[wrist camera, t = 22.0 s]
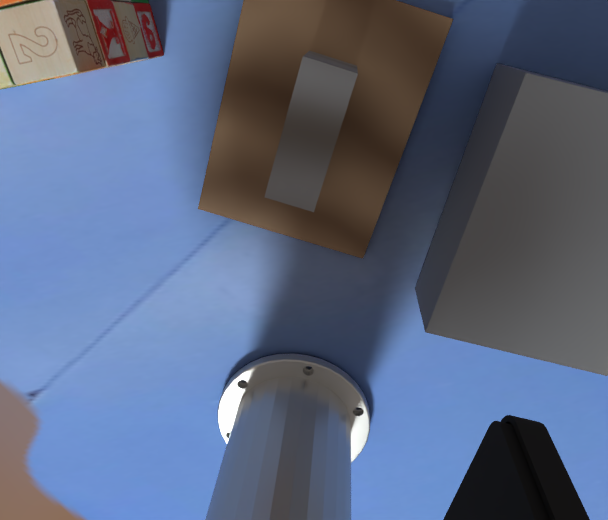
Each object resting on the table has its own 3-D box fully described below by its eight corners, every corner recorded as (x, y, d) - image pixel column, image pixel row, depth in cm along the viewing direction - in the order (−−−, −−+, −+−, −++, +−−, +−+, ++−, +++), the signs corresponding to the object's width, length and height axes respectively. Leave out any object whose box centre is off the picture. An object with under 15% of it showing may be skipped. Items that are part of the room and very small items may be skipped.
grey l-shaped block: (662, 348, 40) (711, 401, 34) (415, 288, 39) (425, 332, 34) (793, 138, 33) (880, 162, 28) (496, 62, 33) (526, 72, 27)
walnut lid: (362, 250, 39) (364, 291, 33) (203, 202, 38) (176, 235, 33) (448, 18, 32) (471, 19, 26) (257, -44, 32) (236, -58, 26)
